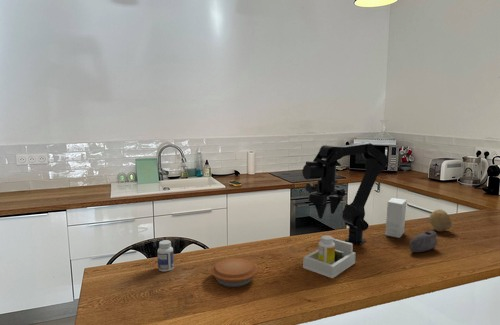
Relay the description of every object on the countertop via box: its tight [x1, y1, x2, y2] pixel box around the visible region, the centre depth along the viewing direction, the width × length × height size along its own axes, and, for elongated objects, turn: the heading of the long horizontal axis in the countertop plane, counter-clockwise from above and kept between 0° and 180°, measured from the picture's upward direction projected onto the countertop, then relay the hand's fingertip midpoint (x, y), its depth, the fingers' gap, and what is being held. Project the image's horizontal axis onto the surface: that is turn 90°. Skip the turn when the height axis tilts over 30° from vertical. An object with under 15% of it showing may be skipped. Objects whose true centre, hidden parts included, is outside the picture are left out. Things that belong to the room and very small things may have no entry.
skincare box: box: [385, 197, 407, 239], centre depth 156 cm, size 8×7×16 cm
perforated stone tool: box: [408, 230, 438, 253], centre depth 138 cm, size 15×5×7 cm, turn 117°
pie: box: [210, 257, 259, 288], centre depth 115 cm, size 16×16×5 cm
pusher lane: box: [302, 238, 356, 279], centre depth 125 cm, size 16×12×7 cm
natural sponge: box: [428, 209, 453, 232], centre depth 160 cm, size 9×9×10 cm
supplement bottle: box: [317, 234, 335, 265], centre depth 122 cm, size 6×6×10 cm
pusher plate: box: [334, 249, 344, 262], centre depth 126 cm, size 1×8×4 cm, turn 47°
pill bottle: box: [157, 239, 175, 273], centre depth 123 cm, size 5×5×10 cm
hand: (326, 215), depth 140 cm, fingers open, 9 cm apart
